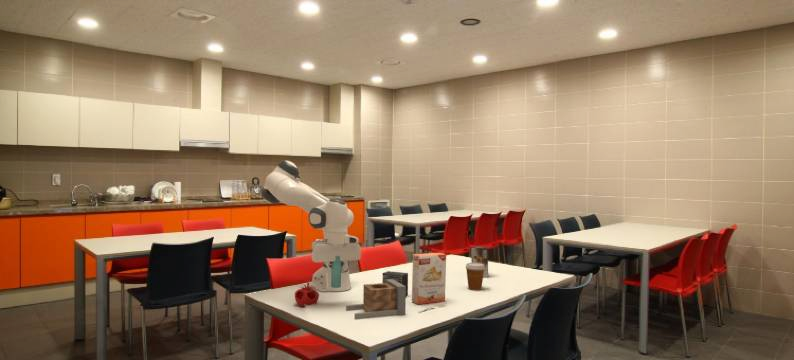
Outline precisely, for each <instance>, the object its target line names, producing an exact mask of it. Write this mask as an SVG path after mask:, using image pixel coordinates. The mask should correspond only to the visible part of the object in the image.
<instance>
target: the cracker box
mask: <svg viewBox="0 0 794 360" xmlns="http://www.w3.org/2000/svg"><path fill="white" fill-rule="evenodd" d="M446 272H447V254H445V253H442V252H429V253H427V252H426V253H414V254H412V273H411V274H412V275H411V276H412V280H411V281H412V282H411V285H412V287H411V302H412V303H414V304H417V305H425V304H426V305H427V304H434V303H441V302H442V301H443V302H446V276H447V275H446V274H447V273H446ZM443 302H442V303H443Z"/></svg>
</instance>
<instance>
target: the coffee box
mask: <svg viewBox="0 0 794 360" xmlns="http://www.w3.org/2000/svg"><path fill="white" fill-rule="evenodd" d="M470 249H471V250H470V251H471V258H470V259H471V260H470V261H471V262H470V263H481V264H484V267H485V269H484V274H483V278H486V279H487V278H489V247H488V246H476V245H475V246H471V248H470Z"/></svg>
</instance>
